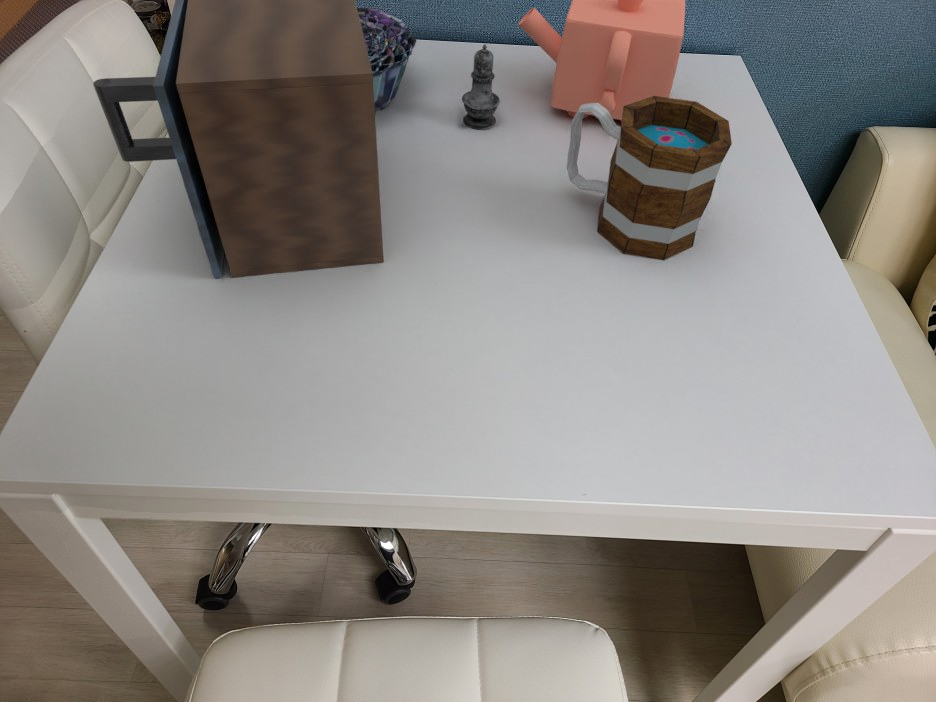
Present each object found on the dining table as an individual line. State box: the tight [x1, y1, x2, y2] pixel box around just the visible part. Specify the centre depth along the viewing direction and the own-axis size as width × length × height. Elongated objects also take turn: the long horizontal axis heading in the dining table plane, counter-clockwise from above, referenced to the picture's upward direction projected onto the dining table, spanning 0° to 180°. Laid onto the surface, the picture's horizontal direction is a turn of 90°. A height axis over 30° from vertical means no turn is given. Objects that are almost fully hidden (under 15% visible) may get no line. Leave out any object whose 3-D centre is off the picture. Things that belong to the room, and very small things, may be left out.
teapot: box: [518, 0, 686, 123], centre depth 105 cm, size 25×23×18 cm
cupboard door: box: [92, 0, 225, 279], centre depth 78 cm, size 7×26×24 cm, turn 10°
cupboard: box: [176, 0, 385, 278], centre depth 80 cm, size 18×26×24 cm
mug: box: [566, 96, 733, 261], centre depth 85 cm, size 20×14×15 cm
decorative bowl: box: [357, 7, 417, 111], centre depth 106 cm, size 26×28×10 cm
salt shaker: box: [461, 43, 501, 131], centre depth 101 cm, size 6×6×12 cm
